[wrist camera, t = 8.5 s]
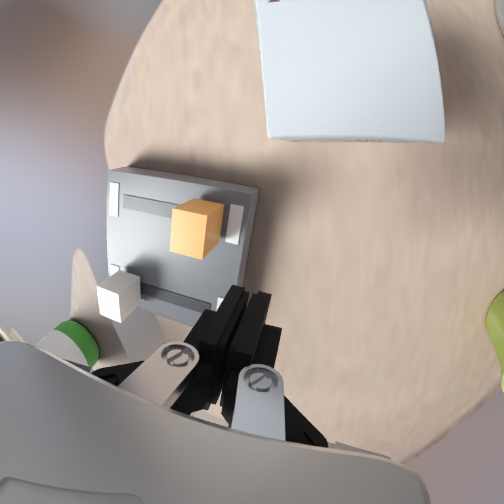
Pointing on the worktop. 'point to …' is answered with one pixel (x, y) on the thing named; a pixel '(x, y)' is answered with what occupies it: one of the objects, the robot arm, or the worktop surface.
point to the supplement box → (350, 71)
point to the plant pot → (497, 329)
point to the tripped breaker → (196, 227)
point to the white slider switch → (119, 295)
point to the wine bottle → (71, 343)
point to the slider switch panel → (159, 232)
